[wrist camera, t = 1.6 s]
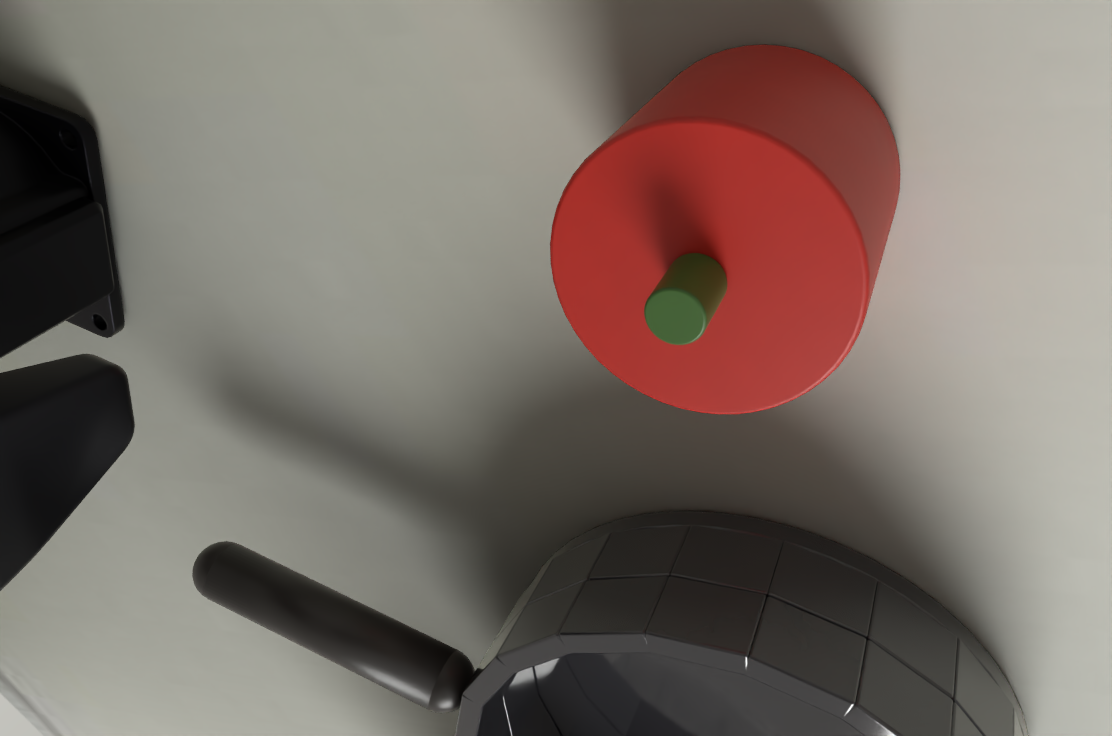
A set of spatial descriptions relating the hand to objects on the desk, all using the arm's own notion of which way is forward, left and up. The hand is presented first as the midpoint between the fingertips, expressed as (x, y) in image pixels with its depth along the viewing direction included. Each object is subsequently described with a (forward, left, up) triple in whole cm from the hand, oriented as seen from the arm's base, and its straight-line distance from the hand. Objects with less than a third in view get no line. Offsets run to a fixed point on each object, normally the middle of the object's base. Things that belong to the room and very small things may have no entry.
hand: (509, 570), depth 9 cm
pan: (+4, -14, -11) cm, 18 cm away
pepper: (0, 0, -11) cm, 11 cm away
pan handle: (-7, -14, -8) cm, 17 cm away
